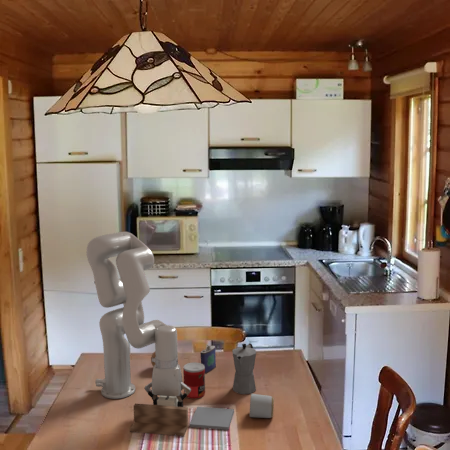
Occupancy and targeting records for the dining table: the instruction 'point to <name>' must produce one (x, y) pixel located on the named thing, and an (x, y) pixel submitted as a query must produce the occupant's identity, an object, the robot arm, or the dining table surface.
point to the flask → (208, 358)
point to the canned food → (194, 379)
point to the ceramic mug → (261, 406)
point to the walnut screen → (160, 419)
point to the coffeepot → (244, 369)
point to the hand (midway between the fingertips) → (168, 409)
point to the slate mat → (212, 418)
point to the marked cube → (167, 401)
